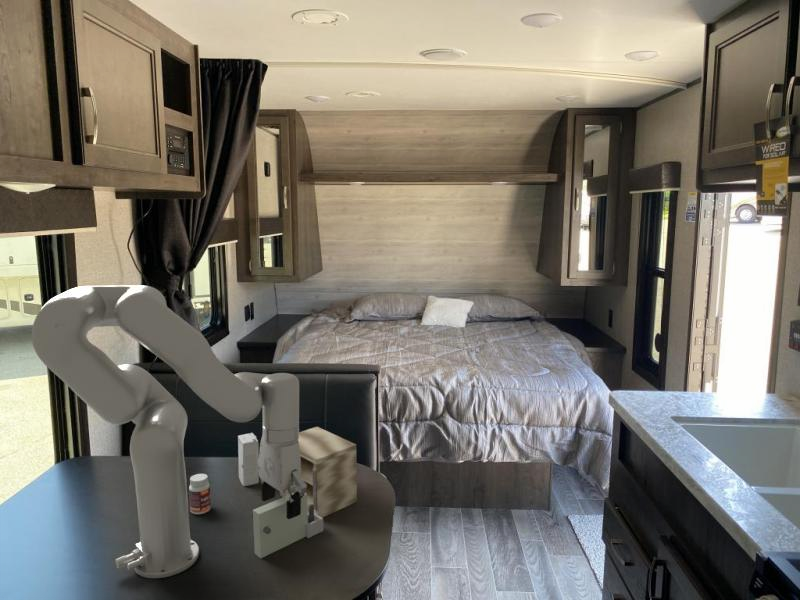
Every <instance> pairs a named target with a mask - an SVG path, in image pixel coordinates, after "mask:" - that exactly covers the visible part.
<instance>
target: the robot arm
mask: <svg viewBox="0 0 800 600" xmlns="http://www.w3.org/2000/svg"><path fill="white" fill-rule="evenodd" d="M40 308H41V309H40V310H39V311H38V313H37V314H36V316H35V319H34V320H33V321H34V322H33V324H32V328H31V341H32V346H33V349H34V351H35V353H36V355H37V357H38V358H39V360H40V361H41V362H42V364H44V366H45V367H46V368H48V369H49V370H50V371H51V372H52V373H53V374H54V375H56V377H58V378H59V379H60V380H61V381H62V382H63V383H64V384H65V385H67V387H69V388H70V390H71V391H72V392H73V393H74V394H75V395H76V396H78V398H79V399H81V400H82V401H83V402H84V403H85V404H86V405H87V406H88V407H89V408H90V409H91V410H92V411H93V412H94V413H95V414H96V415H97V416H99V417H100V418H101V419H102V420H103V421H105V422H107V423H109V424H112V425H125V424H126V423H129V422H131V421H132V423H133V424H134V425H135V427H134V429H133V431H132V435H131V436H130V442H129V443H130V444H129V455H130V459H131V464H132V469H133V477H134V483H135V487H134V488H135V496H136V504H137V506H136V507H137V517H138V529H139V531H138V532H139V540H140V541H139V542H138V543H135V549H133V550H131V552H130V553H128V554H125V555H122V556H120V557H118V558H115V560H114V561H115V567H116V568H117V569H119V570H120V568H123V567H126V569H127V570H128V571H131V570H133V569H134V572H135V573H136V574H137V575H139V576H140V577H143V578H147V579H161V578H163V579H164V578H167V577H171V576H175V575H178V574H180V573H182V572H184V571H186V570H187V569H189V568H190V567H192V565H194V564H195V563H196V561H197V560H198V558H199V555H200V547H199V544H198V543H197V542H195V540H192V539H191V532H190V531H191V530H190V514H189V513H190V512H189V511H190V510H189V497H188V485H187V483H188V482H187V473H186V463H185V455H184V454H185V452H184V441H185V440H184V439H185V436H186V430H187V427H188V415H187V412H186V409H185V408H184V406H183V405H182V404H181V403H180V402H179V400H177V399H176V398H175V397H174V395H172V394H171V393H170V392H169V391H168V390H167V389H166V387H164V386H163V385H162V384H161V382H159V381H158V380H157V379H156V378H155V377H154V376H153V375H152V374H151V373H150V372H149V371H147V370H146V369H144V368H143V367H141V366H139V365H137V364H130V363H126V364H125V363H124V364H119V365H117V363H115V362H114V361H113V360H112V359H111V358H110V357H109V356H108V355H107V354H106V353H105V352H104V351H103V350H102V349H100V348H99V347H98V346H96V345H95V344H93V343H91V342H90V341H89V339H88V337H87V334H88V332H89V331H91V330H92V329H93V328H97V327H99V328H100V327H101V328H102V327H103V328H104V327H119V328H120V329H121V330H122V331H123V332H124V333H126V334H127V335H128V336H129V337H131V338H132V339H134V340H135V341H136V342H137V343H139V344H140V345H141V346H143V347H144V348H146V349H147V350H149V352H151V353H152V354H154V355H155V356H156V357H157V358H159V359H160V360H162V361H163V362H164V363H165V364H167V366H169V367H170V368H172V369H173V370H174V372H175V373H176V374H177V375H178V377H179V378H180V379H181V380H182V381H183V382H184V383H185V384H186V385H187V386H188V387H189V388H190V389H191V390H192V391H193V393H195V394H196V396H198V397H199V398H200V399H201V400H202V401H203V402H205V403H206V404H207V405H209V406H210V407H211V408H213V409H214V410H216V412H218V413H219V414H221V415H222V416H224V417H225V418H226V419H228V420H230V421H233V422H235V423H247V422H251V421H253V420H254V419H255V418H257V416H259V414H260V413H261V410H262V436H261V439H260V444H259V458H258V459H257V462H258V466H259V482H260V483H261V501H263V502H266V501H268V500H271V499H275V497H276V490H277V491H279V493H280V492H284V491H285V492H286V494H287V497H288V501H287V519H291V518H294V517H296V516H299V515H300V514H301V498H302V497H303V496H304V494H305V490H306V488H307V485H306V483H305V482H304V480H303V479H302V478H301V456H300V447H299V441H298V439H299V432H300V381H299V378H298V377H297V375H294V374H293V373H288V372H287V373H286V372H278V373H277V372H276V373H272V374H269V373H268V374H266V373H256V372H248V371H243V372H238V373H233V372H232V371H231V370H230V369H229V368H227V367H226V366H225V365H224V364H223V362H221V360H220V359H219V358H218V357H217V356H216V354H215V352H214V351H213V349H212V347H211V345H210V344H209V341H208V340H207V339H206V338H205V336H204V334H202V332H200V331H199V330H197V329H196V328H195V327H193V326H192V325H191V324H189V323H188V322H187V321H186V320H184V319H183V318H182V317H180V315H178V314H177V313H175V312H174V311H173V310H172V309H171V308H169V307H168V305H167V300H166V298H165V296H164V295H163V294H162V292H161V291H159V290H158V289H157V288H156V287H153V286H150V285H149V286H148V285H144V284H143V285H141V284H140V285H137V284H136V285H84V286H76V287H74V288H70V289H68V290H66V291H64V292H62V293H60V294H58V295H55V296H54V297H52V298H50V299H49V300H47V302H45V304H44V305H43V306H42V307H40ZM290 483H292V484H293V485H290ZM289 485H290V486H289ZM293 488H294V489H295V491H296V492H295V493H294V494H293V495H292V493H291V490H290V489H293Z"/></svg>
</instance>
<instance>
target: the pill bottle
mask: <svg viewBox="0 0 800 600" xmlns="http://www.w3.org/2000/svg"><path fill="white" fill-rule="evenodd" d="M208 476H209V475H207V474H206V473H197V474H194V475H191V476H190V478H189V483H190V484H189V487H188V494H189V497H188V498H189V511H190V512H191V514H192V515H203V514H205V513H207V512H210V510H211V508H212V504H211V502H212V501H211V486H210V483H209V477H208Z"/></svg>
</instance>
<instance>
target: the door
mask: <svg viewBox="0 0 800 600" xmlns="http://www.w3.org/2000/svg"><path fill="white" fill-rule="evenodd" d="M293 494H294V493H292V495H293ZM287 501H288V497H287V496H285V497H281V498H278V499H276V500H273V501H272V502H268V503H266V504H264V505H261V506H259V507H257V508H254V509H253V510H252V521H253V524H252V526H253V545H254V547H253V548H254V555H256V556H257V557H258V558H259V559H263V558H265V557H266V556H269V555H271V554H273V553H275V552H277V551H279V550H281V549H283V548H285V547H288V546H290V545H292V544H293V543H295V542H297V541H299V540H302V539H304V538H305V537H306V538H308V539H309V538H312V537H313V536H315V535H318V534H319V533H322V532H323V531H324V517H323V518H322V517H320V516H319V515H317V514H315V513H314V521H313V522H311V523H309V513H307V494H306V493H305V494H304V496H303V497H302V498H301V514H300V515H299V516H296V517H294V518H291V519H287Z"/></svg>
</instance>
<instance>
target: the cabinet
mask: <svg viewBox="0 0 800 600" xmlns="http://www.w3.org/2000/svg"><path fill="white" fill-rule="evenodd" d="M298 441H299V447H300V456H301V478H302V479H303V480H304V482H305V483H306V485H307V488H306V490H305V493H306V494H307V514H308V513H309V523H311V522H313V521H314V513H315V514H317V515H319V516H320V517H322V518H323V519H324V517H327V516H328V515H331V514H333V513H335V512H338V511H340V510H341V509H344V508H346V507H348V506H350V505H352V504H355V503H357V502H358V494H357V493H358V482H357V481H358V479H357V476H358V475H357V465H358V464H357V443H353V442H352V441H350V440H348V439H345V438H343V437H341V436H339V435H337V434H334V433H332V432H330V431H328V430H325V429H323V428H321V427H319V426H315V427H312V428H308V429H306V430H302V431H299V439H298ZM290 485H293V484H292V483H290ZM290 485H289V486H290ZM290 490H291V493H295V492H296V491H295V489H294V488H293V489H290ZM279 496H281V498H283V497H285V496H287V494H286V492H285V491H284V492H280V491H279Z"/></svg>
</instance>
